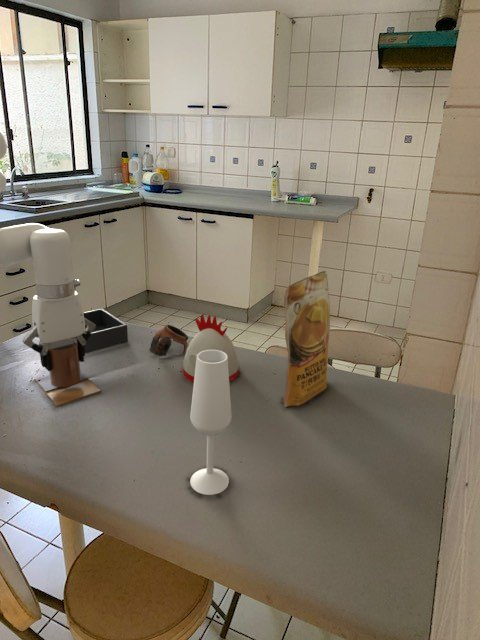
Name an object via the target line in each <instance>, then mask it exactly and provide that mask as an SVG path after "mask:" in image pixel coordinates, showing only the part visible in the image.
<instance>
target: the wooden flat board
mask: <svg viewBox="0 0 480 640" xmlns="http://www.w3.org/2000/svg"><path fill="white" fill-rule="evenodd" d="M33 381H34V382H35V384H36V385H37V386H38V387H39V389H41V391H43V393H44V394H45V395H46V397H48V399H49V400H50V401H51V402H52V403H53V405H55V407H56V408H58V407H62V406H64V405H67V404H70V403H73V402H77V401H79V400H83V399H85V398H88V397H91V396H95V395H98V394H100V393H102V391H101V389H100V388H99V387H97V385H95V383H93V382H92V381H91V380H90V379H89V378H84V379H81V380H80V381H79V382H78V383H77V384H75V385H72V386H68V387H54V388H51V389H49V390H45V388H43V386H42V385H41V384H39V382H38V381H37V380H36V379H35V378H34V379H33Z"/></svg>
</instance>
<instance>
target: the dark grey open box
mask: <svg viewBox="0 0 480 640" xmlns="http://www.w3.org/2000/svg"><path fill="white" fill-rule="evenodd" d="M83 314H84V318H86V319H87V320H89V321H91V322H92V323H94V324H95V325H96V328H95V329H94V330H93V332H92V333H91V336H90V337H89V338H88V340H87V341H86V344H85V345H84V347H85V354H87V353H88V354H89V353H92V352H95V351H99V350H102V349H105V348H109V347H110V348H111V347H114V346H117V345H120V344H126V343H128V342H129V335H128V334H129V333H128V325H127V323H125V322H124V321H122V320H120V319H119V318H117V317H116V316H114V315H113V314H112V313H110V312H108V311H107V310H106V309H103V308H98V309H94V310H89V311H83ZM81 315H82V314H81ZM86 328H87V326H86V325H85V330H86ZM70 339H74V340H76V339H75V337H73V338H70Z"/></svg>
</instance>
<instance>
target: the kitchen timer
mask: <svg viewBox="0 0 480 640" xmlns="http://www.w3.org/2000/svg"><path fill="white" fill-rule="evenodd" d="M211 318H212V317H211V315H210V314H208V316H207V319H206V320H205V316H204V314H201V315H200V320H199V318H198V317H196V318H195V319H194V321H195V323H196V327H197V328H198V332H197V333H196V334H195V335H194V336H193V337H192V338H191V339H190V340H189V344H188V345H187V348H186V351H185V353H184V358H183V362H182V374H183V376H184V377H185V379H186V380H187V381H189V382H191V383H194V377H195V368H196V359H197V354H198V353H200V352H202V351H205V350H219V351H222V352H224V353H226V354H227V357H228V372H229V383H231V382H232V381H234V380H236V378H237V377H238V376H239V372H240V371H239V368H240V365H239V364H240V363H239V358H238V355H237V351H236V348H235V347H234V344H233V342H232V340H231V339H230V337H229V336H228V335H227V334H226V332H227V330H228V326H226V327H225V328H224V329H223V330H222V324H223V321H222V320H221V321H220V322H219V323H218V321H217V316H216V315H214V316H213V318H212V319H211Z"/></svg>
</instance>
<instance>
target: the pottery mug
mask: <svg viewBox="0 0 480 640" xmlns="http://www.w3.org/2000/svg"><path fill="white" fill-rule="evenodd" d="M188 340H189V336H188V335H187V333H185V332H184V331H183V330H181V329H179V328H178V327H176V326H174V325H171V324H164V326H163V328H160V329H159V330H157V331H156V332H155V333H154V335H153V336H152V339H151V342H150V347H149V352H150V353H152V354H153V355H157V354H158V355H159V356H161V357H164V356H165V357H166V356H167V354H168V351H169V349H170V347H171V346H172V341H173V342H175V343H178V344H181V345H183V350H182V354H186V351H187V349H188Z"/></svg>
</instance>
